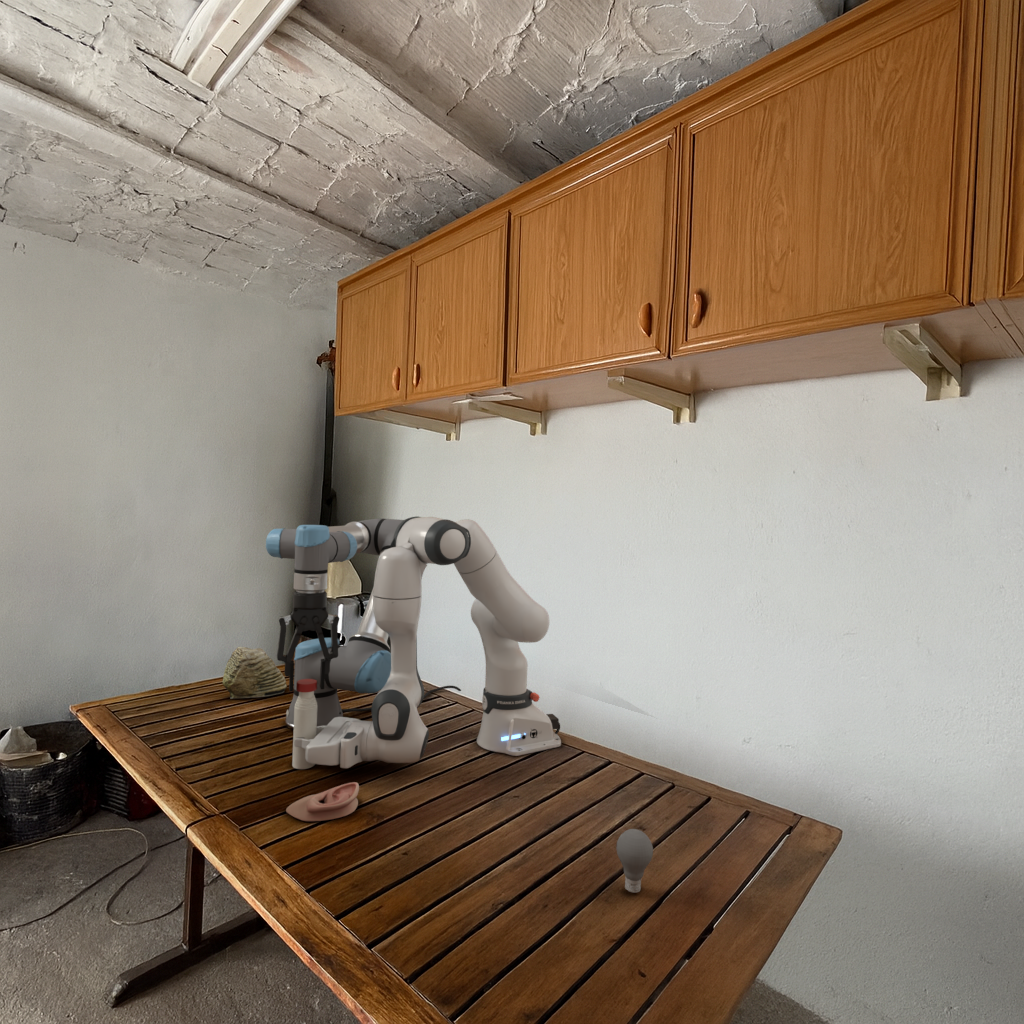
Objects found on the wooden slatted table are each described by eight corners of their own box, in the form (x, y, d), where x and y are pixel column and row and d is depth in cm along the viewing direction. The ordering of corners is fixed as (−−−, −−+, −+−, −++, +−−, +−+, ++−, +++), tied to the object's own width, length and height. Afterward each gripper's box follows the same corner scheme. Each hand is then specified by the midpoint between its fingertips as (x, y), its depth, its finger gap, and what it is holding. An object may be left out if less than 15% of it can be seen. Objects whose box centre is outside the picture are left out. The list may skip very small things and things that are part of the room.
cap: (294, 688, 149) (294, 680, 149) (313, 685, 152) (313, 677, 152) (299, 693, 146) (299, 685, 146) (319, 690, 148) (319, 682, 148)
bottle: (307, 770, 146) (310, 688, 146) (287, 767, 147) (290, 686, 147) (319, 762, 151) (322, 682, 151) (300, 758, 152) (303, 680, 152)
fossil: (218, 695, 195) (220, 647, 195) (278, 685, 208) (279, 640, 207) (228, 703, 189) (230, 653, 188) (289, 692, 201) (290, 645, 201)
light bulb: (610, 879, 108) (613, 822, 108) (644, 879, 109) (647, 822, 109) (619, 902, 102) (622, 840, 102) (655, 901, 103) (658, 840, 103)
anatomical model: (278, 797, 124) (308, 772, 135) (277, 817, 124) (307, 791, 136) (340, 806, 122) (366, 781, 133) (339, 827, 122) (365, 799, 133)
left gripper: (266, 593, 141) (263, 696, 142) (354, 592, 149) (350, 690, 149) (266, 588, 148) (262, 686, 149) (349, 587, 156) (346, 681, 156)
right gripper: (371, 712, 159) (317, 708, 159) (345, 743, 138) (283, 739, 139) (370, 737, 159) (316, 733, 159) (344, 771, 138) (282, 767, 139)
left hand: (306, 688), depth 149 cm, fingers open, 6 cm apart
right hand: (301, 736), depth 149 cm, fingers closed on bottle, 5 cm apart
